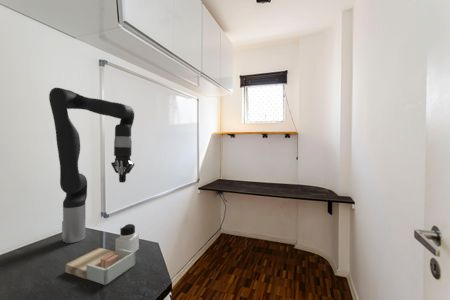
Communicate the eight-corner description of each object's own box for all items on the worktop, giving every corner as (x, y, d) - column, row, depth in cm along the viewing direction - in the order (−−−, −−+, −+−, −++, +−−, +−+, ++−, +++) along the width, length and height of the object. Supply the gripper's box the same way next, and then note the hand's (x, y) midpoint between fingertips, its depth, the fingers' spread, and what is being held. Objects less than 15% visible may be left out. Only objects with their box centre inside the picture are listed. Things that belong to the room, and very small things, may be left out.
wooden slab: (65, 272, 79) (65, 264, 79) (99, 254, 92) (99, 247, 92) (85, 279, 75) (85, 270, 75) (118, 259, 88) (118, 252, 88)
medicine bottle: (139, 248, 97) (139, 223, 97) (130, 256, 90) (130, 229, 90) (124, 247, 98) (124, 222, 98) (115, 255, 91) (115, 228, 91)
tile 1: (100, 258, 79) (104, 259, 78) (110, 253, 83) (114, 254, 83) (100, 270, 79) (104, 271, 79) (110, 264, 83) (114, 265, 83)
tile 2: (104, 260, 78) (108, 261, 77) (115, 254, 82) (118, 255, 82) (104, 272, 78) (108, 273, 78) (115, 265, 82) (118, 266, 82)
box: (86, 278, 75) (86, 264, 75) (117, 259, 88) (118, 247, 88) (105, 285, 72) (105, 270, 72) (135, 264, 85) (135, 252, 84)
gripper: (106, 145, 100) (105, 182, 100) (127, 146, 95) (126, 184, 95) (119, 146, 107) (118, 180, 107) (139, 146, 102) (138, 182, 102)
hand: (122, 182), depth 101 cm, fingers closed
